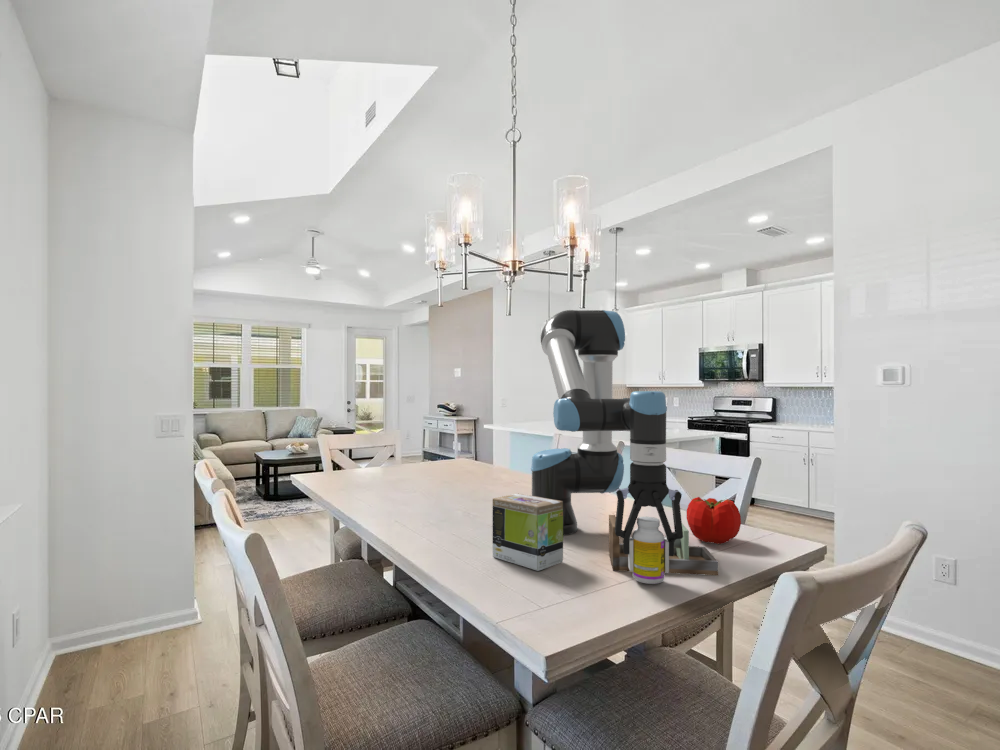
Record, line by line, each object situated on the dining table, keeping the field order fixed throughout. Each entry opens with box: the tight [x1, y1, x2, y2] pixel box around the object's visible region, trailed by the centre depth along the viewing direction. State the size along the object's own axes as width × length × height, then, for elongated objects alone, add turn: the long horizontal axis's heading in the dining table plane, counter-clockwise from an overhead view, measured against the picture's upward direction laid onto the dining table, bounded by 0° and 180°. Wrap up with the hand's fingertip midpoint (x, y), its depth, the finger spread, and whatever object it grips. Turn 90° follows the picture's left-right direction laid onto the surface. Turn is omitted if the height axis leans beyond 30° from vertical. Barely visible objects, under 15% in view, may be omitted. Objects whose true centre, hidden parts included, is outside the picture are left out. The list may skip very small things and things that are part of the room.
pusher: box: [664, 523, 690, 559], centre depth 122 cm, size 5×9×8 cm, turn 173°
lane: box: [608, 514, 719, 576], centre depth 123 cm, size 23×11×10 cm, turn 83°
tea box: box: [492, 493, 564, 572], centre depth 126 cm, size 15×10×15 cm, turn 45°
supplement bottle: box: [631, 516, 665, 585], centre depth 112 cm, size 7×7×13 cm
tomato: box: [686, 496, 742, 545], centre depth 142 cm, size 13×14×12 cm
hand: (648, 569), depth 111 cm, fingers closed on supplement bottle, 7 cm apart
